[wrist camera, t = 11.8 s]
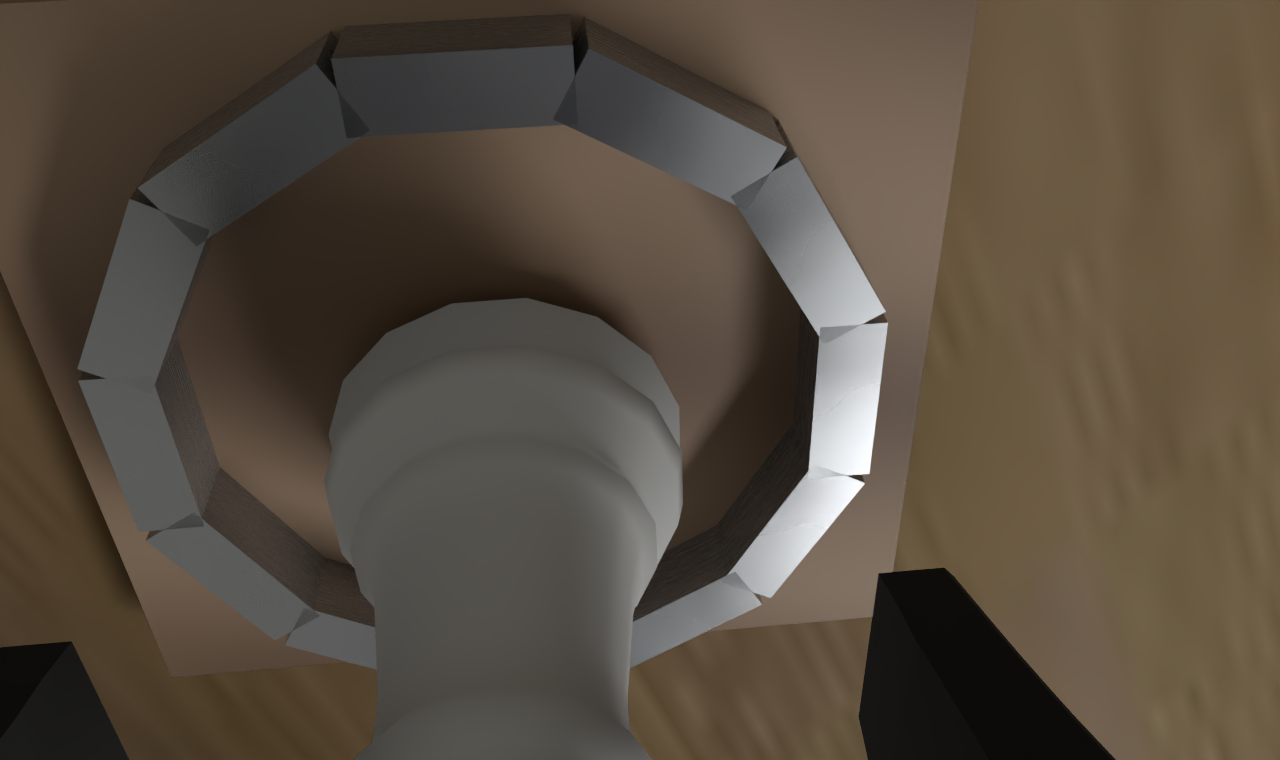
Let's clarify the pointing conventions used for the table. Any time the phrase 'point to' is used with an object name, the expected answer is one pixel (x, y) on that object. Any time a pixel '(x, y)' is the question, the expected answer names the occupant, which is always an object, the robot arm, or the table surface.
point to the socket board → (477, 269)
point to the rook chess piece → (504, 527)
